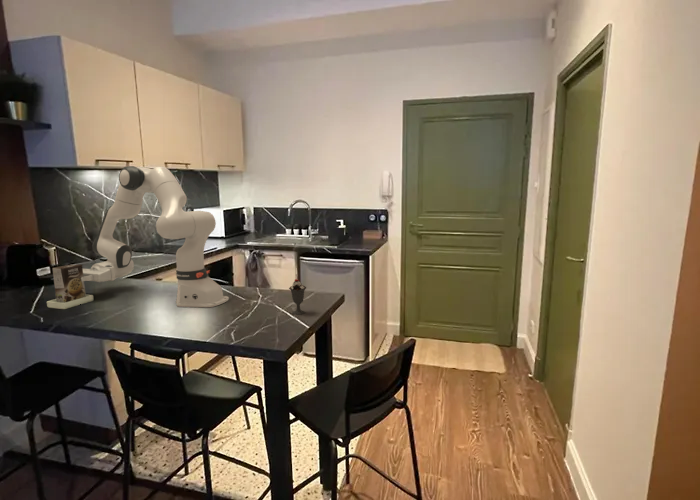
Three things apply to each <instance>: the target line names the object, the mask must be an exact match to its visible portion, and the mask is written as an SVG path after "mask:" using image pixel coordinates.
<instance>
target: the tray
mask: <svg viewBox="0 0 700 500" xmlns="http://www.w3.org/2000/svg"><path fill="white" fill-rule="evenodd" d="M90 302H94V295H93V294H86V297H83V298H80V299H76V300H73V301H69V302H66V303H60V302H57V301H56V298H55V299H51V300H48V301H46V306H47V308H50V309H60V310H67V309H71V308H74V307H77V306H80V304H81V305H83V304H87V303H90Z"/></svg>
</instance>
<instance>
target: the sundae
mask: <svg viewBox="0 0 700 500" xmlns="http://www.w3.org/2000/svg"><path fill="white" fill-rule="evenodd" d="M297 275H298V274H295V276H296V279H294V281H293V282H292V284H291V286H290V287H288V290H290V293H291V299H292V302H293V303H294V304H295V305H296V310H294V311H292V314H293V315H297V316H298V315H304V314H305V313H306V311H305V310H302V309H301V304H302V303H303V302H304V299H305V297H304V295H305V290H306V289H307V286H305V285H303V284H302V282H301V281H300V279H299V277H298V276H297Z"/></svg>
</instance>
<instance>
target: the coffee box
mask: <svg viewBox="0 0 700 500" xmlns="http://www.w3.org/2000/svg"><path fill="white" fill-rule="evenodd" d="M83 269H84V268H83V264H79V263H77V264H76V263H75V264H66V265H62V266H56V267H52V276H53V284H54V292H55V299H56V301H57V302H60V303H66V302H69V301H73V300H76V299H80V298H83V297H86V295H87V294H86V287H85V286H86V285H85V281H80V279H79V278H80V277H83Z"/></svg>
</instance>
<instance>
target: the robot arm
mask: <svg viewBox="0 0 700 500" xmlns="http://www.w3.org/2000/svg"><path fill="white" fill-rule="evenodd" d="M118 180H119V185H118V188H117V192H116V194H115V199H114V201H113V204H112V205H111V206H109V207H108V208H107V209H106V212H105V214H104V217H103V219H102V222H101V225H100V228H99V230H98V232H97V236H96V237H95V238H94V240H93V242H92V251H93V252H94V254H95V255H98V256H100V257H104V258H106V259H107V260H106V261H102V262H97V263H94V264H92V265H91V267H90V268H82V269H83V277H80V278H79V279H80V281H84V282H87V281H89V282H97V283H103V282H107V281H108V282H109V281H110V282H111V281H115V280H116V279H118V278H121V277H124V276H127V275H129V274H131V272H133V270H134V268H135V267H134V266H135V263H134V261H133V259H132V255H133V251H132V248H131V247H130V246H129V245H128V244H125V242H122V241H120V240H117V239H115V238H114V237H113V234H114V232H115V229H116V227H117V224H118V222H119V221H120V220H128V219H134V218H136V217H137V216H139V214H140V212H141V209H142V205H143V199H144V195H145V193H149V194H150V193H151V194H154V195H155V197H156V199H157V201H158V203H159V206H160V208H161V214H160V216H158V219H157V220H156V223H155V229H156V232H157V233H158V235H160V237H161V238H163V239H168V240H179V239H184V240H185V241H184V242H183V244H182V246H180V247H179V248H178V249H177V250H176V253H175V259H176V260H175V263H176V270H175V271H176V272H175V276H176V279H177V290H176V291H177V293H176V294H177V295H176V299H175V303H176V307H183V308H184V307H185V308H186V307H188V308H213V307H217V306H219V305H222V304H224V303H226V302H228V301H229V299H230V297H229V296H227V295H224V292H223V288H222V286H221V285H220V284H219V283H217V282H216V281H215V280H213V279H212V278H211V277H210V276H209V274H210V271H211V270H210V269H209V270H207V269H206V268H205V260H204V259H205V257H204V254H205V253H204V251H205V247H206V243H207V240H208V238H209V236H210V235H211V233H213V232H214V231H215V228H216V224H217V223H216V222H217V221H216V219H215V217H214V215H213V213H211V212H209V211H204V210H193V211H185V210H184V209H183V208H184V207H185V206H186V203H187V200H188V198H187V195H186V193H185V192H184V190H183V188H182V186H181V185H180V183H179V181H178V180H177V178H176V177H175V175H174V174H173V173H172V171H170V170H169V169H168V168H167V167H165V166H156V167H152V168H148V167H143V166H133V165H128V166H124V167H123V168H122V169H120V171H119V175H118Z"/></svg>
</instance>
